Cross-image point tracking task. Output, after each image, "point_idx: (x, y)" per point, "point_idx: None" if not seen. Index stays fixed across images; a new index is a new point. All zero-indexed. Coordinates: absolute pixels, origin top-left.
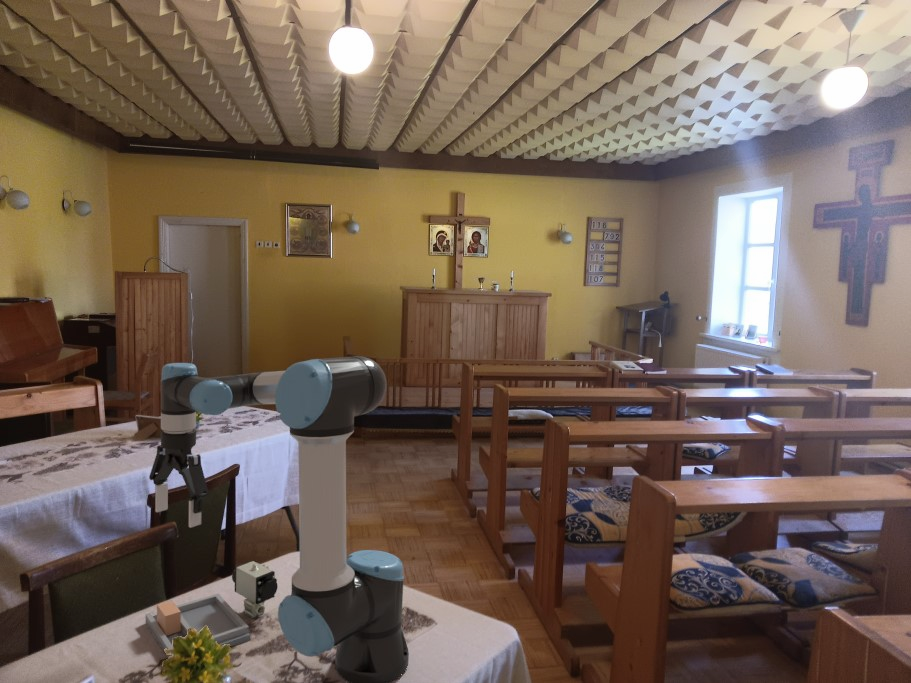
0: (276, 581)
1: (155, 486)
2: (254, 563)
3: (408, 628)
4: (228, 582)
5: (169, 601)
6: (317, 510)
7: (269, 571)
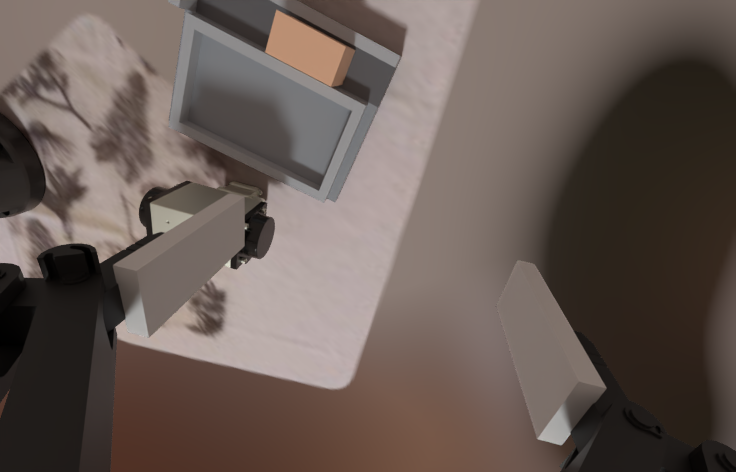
0: None
1: (621, 391)
2: None
3: None
4: (376, 265)
5: (331, 78)
6: None
7: None
